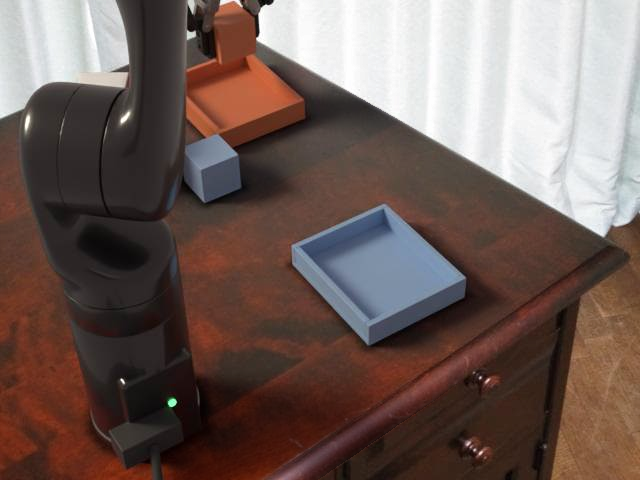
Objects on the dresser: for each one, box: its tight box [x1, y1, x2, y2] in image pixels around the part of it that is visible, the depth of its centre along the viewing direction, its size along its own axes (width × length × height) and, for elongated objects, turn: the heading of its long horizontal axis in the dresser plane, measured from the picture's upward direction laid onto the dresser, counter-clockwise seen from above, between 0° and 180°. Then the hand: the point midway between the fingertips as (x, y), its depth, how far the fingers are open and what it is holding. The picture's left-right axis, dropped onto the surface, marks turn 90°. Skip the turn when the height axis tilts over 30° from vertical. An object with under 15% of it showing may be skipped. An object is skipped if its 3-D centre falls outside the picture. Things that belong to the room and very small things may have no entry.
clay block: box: [212, 0, 258, 65], centre depth 127 cm, size 4×4×4 cm
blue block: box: [183, 134, 242, 204], centre depth 122 cm, size 4×4×4 cm
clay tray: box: [186, 54, 306, 149], centre depth 133 cm, size 13×11×3 cm
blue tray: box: [291, 203, 467, 347], centre depth 111 cm, size 13×11×3 cm
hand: (229, 47), depth 128 cm, fingers closed on clay block, 4 cm apart
